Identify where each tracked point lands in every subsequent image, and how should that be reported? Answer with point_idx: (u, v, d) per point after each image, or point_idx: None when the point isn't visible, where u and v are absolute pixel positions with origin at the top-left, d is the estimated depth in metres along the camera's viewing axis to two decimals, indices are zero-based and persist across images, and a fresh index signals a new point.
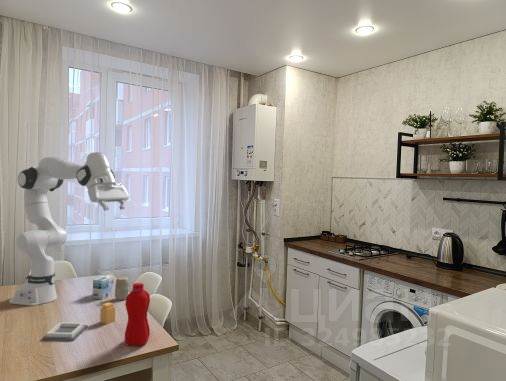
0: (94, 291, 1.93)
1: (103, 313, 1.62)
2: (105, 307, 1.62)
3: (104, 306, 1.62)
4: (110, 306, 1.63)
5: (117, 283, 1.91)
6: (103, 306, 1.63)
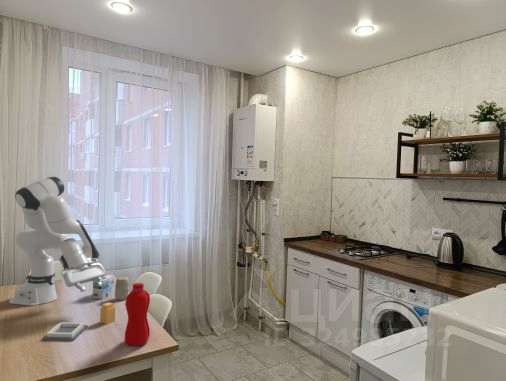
0: (94, 291, 1.93)
1: (103, 313, 1.62)
2: (105, 307, 1.62)
3: (104, 306, 1.62)
4: (110, 306, 1.63)
5: (117, 283, 1.91)
6: (103, 306, 1.63)
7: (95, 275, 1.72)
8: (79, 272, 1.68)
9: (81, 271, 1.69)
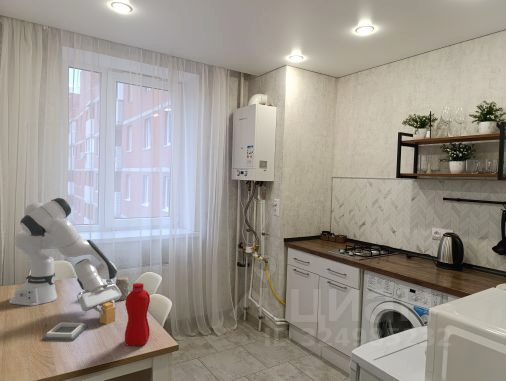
0: None
1: None
2: (105, 307, 1.62)
3: (104, 306, 1.62)
4: (110, 306, 1.63)
5: (117, 283, 1.91)
6: (103, 306, 1.63)
7: (111, 298, 1.67)
8: (95, 295, 1.63)
9: (97, 294, 1.64)
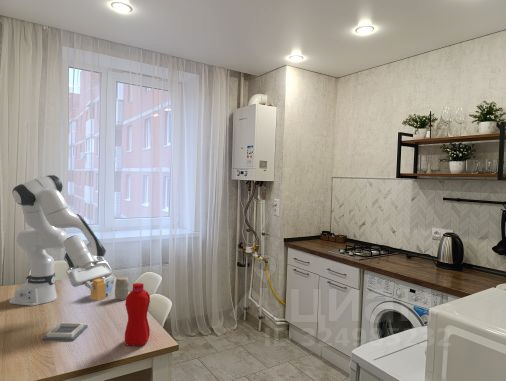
0: None
1: None
2: (96, 283, 1.58)
3: (94, 282, 1.59)
4: (101, 282, 1.59)
5: (117, 283, 1.91)
6: (93, 282, 1.59)
7: (101, 274, 1.64)
8: (85, 271, 1.59)
9: (87, 270, 1.60)
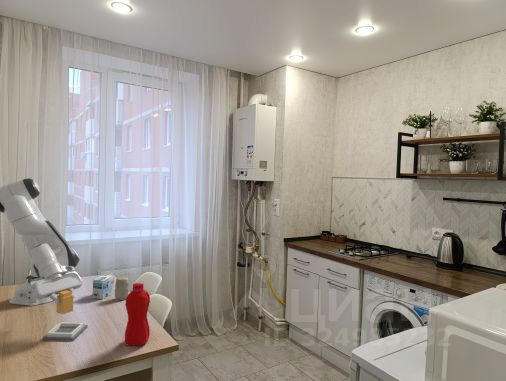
0: (94, 291, 1.93)
1: None
2: (61, 295, 1.48)
3: (61, 294, 1.48)
4: (67, 294, 1.49)
5: (117, 283, 1.91)
6: (60, 294, 1.49)
7: (69, 286, 1.53)
8: (51, 282, 1.49)
9: (53, 281, 1.50)
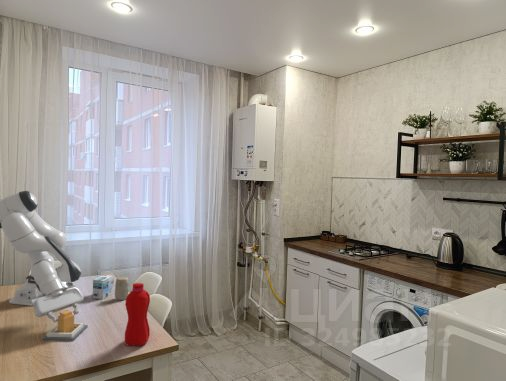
0: (94, 291, 1.93)
1: (60, 322, 1.49)
2: (62, 315, 1.49)
3: (61, 314, 1.49)
4: (68, 314, 1.50)
5: (117, 283, 1.91)
6: (60, 314, 1.49)
7: (70, 302, 1.54)
8: (52, 299, 1.50)
9: (54, 298, 1.51)
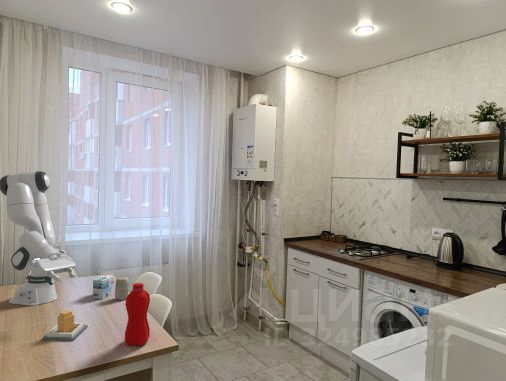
0: (94, 291, 1.93)
1: (60, 322, 1.49)
2: (62, 315, 1.49)
3: (61, 314, 1.49)
4: (68, 314, 1.50)
5: (117, 283, 1.91)
6: (60, 314, 1.49)
7: (66, 266, 1.62)
8: (50, 262, 1.56)
9: (51, 261, 1.57)
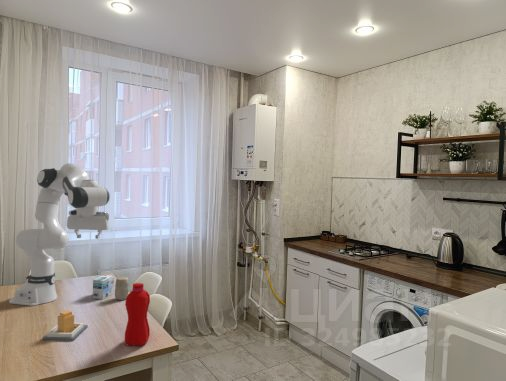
0: (94, 291, 1.93)
1: (60, 322, 1.49)
2: (62, 315, 1.49)
3: (61, 314, 1.49)
4: (68, 314, 1.50)
5: (117, 283, 1.91)
6: (60, 314, 1.49)
7: None
8: None
9: None
